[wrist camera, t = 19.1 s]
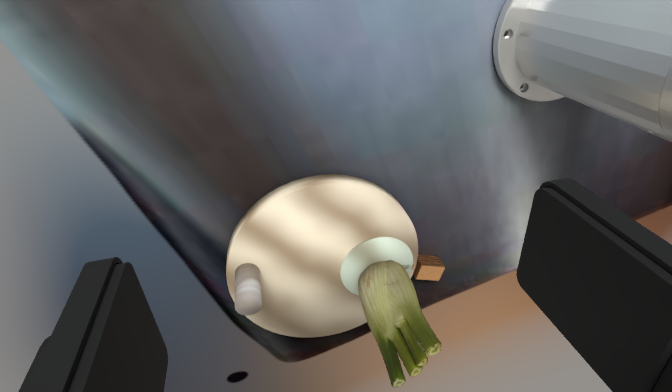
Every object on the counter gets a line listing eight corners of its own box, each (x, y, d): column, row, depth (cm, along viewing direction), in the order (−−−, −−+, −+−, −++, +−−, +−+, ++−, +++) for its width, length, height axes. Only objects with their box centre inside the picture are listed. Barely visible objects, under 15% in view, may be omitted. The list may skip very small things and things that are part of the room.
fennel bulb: (360, 298, 45) (397, 397, 35) (342, 270, 43) (376, 368, 32) (407, 275, 45) (458, 368, 35) (392, 244, 42) (442, 336, 32)
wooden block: (443, 216, 45) (452, 226, 44) (435, 268, 49) (442, 280, 47) (292, 235, 42) (295, 247, 41) (296, 290, 46) (299, 302, 44)
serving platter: (299, 136, 36) (311, 169, 31) (446, 227, 45) (475, 264, 40) (190, 289, 42) (183, 339, 37) (339, 342, 51) (352, 388, 46)
